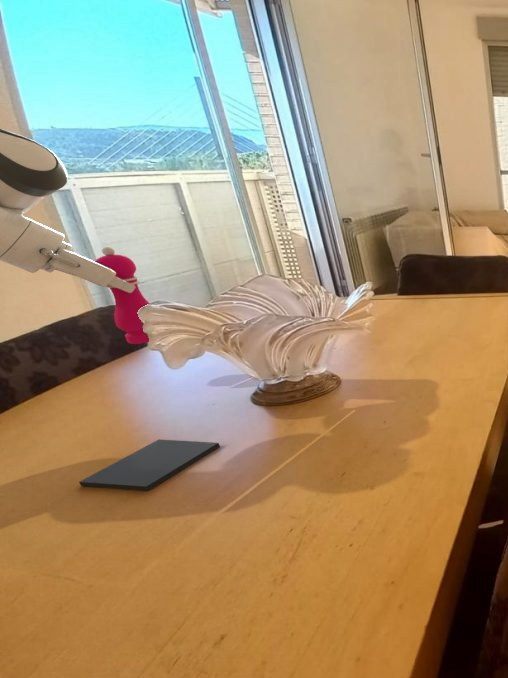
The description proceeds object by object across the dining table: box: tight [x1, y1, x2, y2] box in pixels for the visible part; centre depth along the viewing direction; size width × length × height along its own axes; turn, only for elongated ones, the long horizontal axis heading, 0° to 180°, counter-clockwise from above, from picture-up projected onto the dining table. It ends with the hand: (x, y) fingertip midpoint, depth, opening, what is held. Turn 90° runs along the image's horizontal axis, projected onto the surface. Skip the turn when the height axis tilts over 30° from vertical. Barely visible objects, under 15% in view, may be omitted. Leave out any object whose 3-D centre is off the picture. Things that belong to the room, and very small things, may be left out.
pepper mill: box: [94, 246, 151, 345], centre depth 100 cm, size 7×7×20 cm
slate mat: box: [78, 438, 221, 492], centre depth 77 cm, size 12×12×1 cm
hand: (128, 288), depth 100 cm, fingers closed on pepper mill, 5 cm apart
